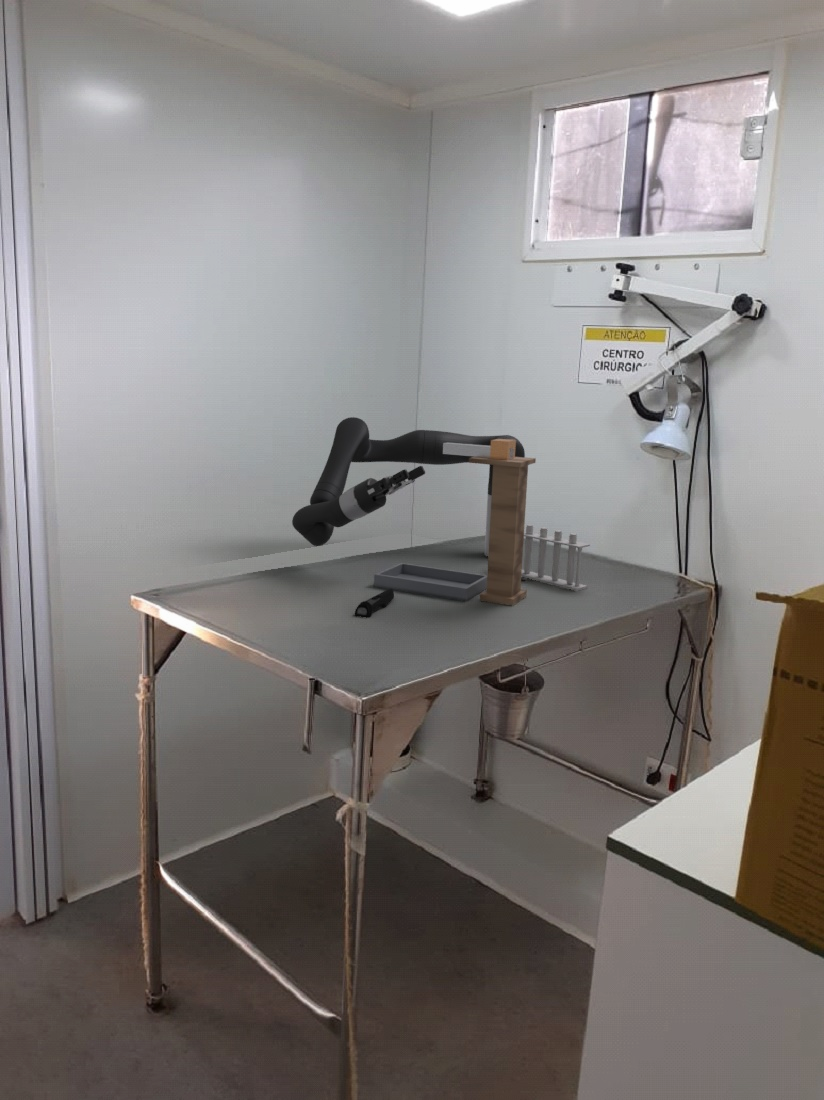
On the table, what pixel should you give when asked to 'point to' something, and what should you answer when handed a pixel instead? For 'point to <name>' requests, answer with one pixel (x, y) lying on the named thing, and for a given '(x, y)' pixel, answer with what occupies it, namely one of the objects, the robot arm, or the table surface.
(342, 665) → the table surface
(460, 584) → the parts tray
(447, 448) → the lock pin
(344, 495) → the robot arm
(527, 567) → the test tube rack
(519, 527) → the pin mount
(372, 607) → the electric trimmer
